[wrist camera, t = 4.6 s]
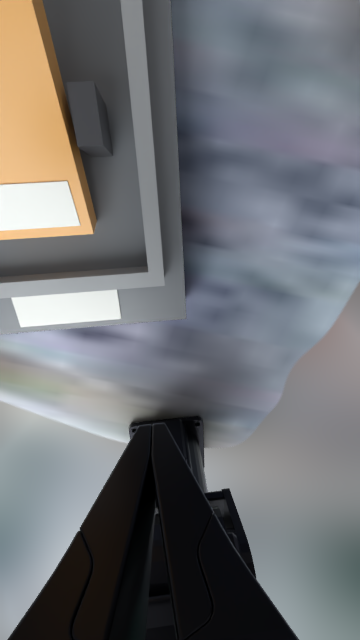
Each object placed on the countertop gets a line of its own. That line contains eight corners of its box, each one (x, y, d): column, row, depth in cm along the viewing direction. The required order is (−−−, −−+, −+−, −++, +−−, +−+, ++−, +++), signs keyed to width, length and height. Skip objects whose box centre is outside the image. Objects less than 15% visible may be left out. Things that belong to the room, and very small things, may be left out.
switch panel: (181, 302, 20) (191, 339, 15) (-17, 318, 19) (-83, 363, 14) (158, -132, 12) (161, -405, 6) (-189, -135, 11) (-510, -450, 6)
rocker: (96, 221, 14) (93, 234, 13) (-1, 227, 14) (-12, 241, 13) (24, -73, 8) (6, -91, 7) (-157, -73, 8) (-204, -91, 7)
